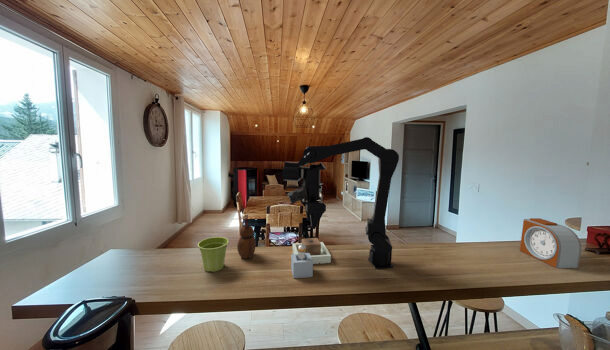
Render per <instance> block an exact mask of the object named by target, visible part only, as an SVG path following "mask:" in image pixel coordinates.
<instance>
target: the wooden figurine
mask: <svg viewBox="0 0 610 350" xmlns="http://www.w3.org/2000/svg"><path fill="white" fill-rule="evenodd" d="M253 234H254V228H253V226H252V225H248V218H247V217H245V225H243V226H241V227H240V230H239V235H240V237H239V239H238V242H237V246H236V247H237V253H238V255H239V256H240V257H241V258H242V259H250V258H251V257H253V256H254V253H255V252H256V251H255V250H256V245H257V242H256V237H255V236H254V235H253Z"/></svg>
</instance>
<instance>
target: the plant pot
mask: <svg viewBox="0 0 610 350" xmlns="http://www.w3.org/2000/svg"><path fill="white" fill-rule="evenodd" d="M229 243H230V242H229V239H228V238H227V237H223V236H214V237H207V238H205V239H202V240H200V241H199V242H198V243H197V247H198V248H199V251H200V253H201V259H202V264H203V265H202V266H203V269H204V271H206V272H214V273H216V272H218V271H220V270H222V269H223V268H224V266H225V258H226V251H227V247H228V244H229Z"/></svg>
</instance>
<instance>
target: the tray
mask: <svg viewBox="0 0 610 350" xmlns="http://www.w3.org/2000/svg"><path fill="white" fill-rule="evenodd" d="M319 242H320V244H321V255H312V256H311V258H312V260H313V265H319V263H320V264H330V263H332V262H331V261H332V255H331V253H330V251H329V250H328V249H327V246H326V245H325V244H324V241H319ZM300 244H302V242H300V243H299V242H296V243H292V249H291V250H292V254H298V247H299V245H300Z"/></svg>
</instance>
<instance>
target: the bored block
mask: <svg viewBox="0 0 610 350" xmlns="http://www.w3.org/2000/svg"><path fill="white" fill-rule="evenodd" d="M290 259H291V260H290V261H291V262H290V265H291V266H290V269H291V274H292V278H293V279H301V278H303V279H304V278H312V277H314V275H313V273H314V264H313V260H312V258H311V256H310V253H305V260H300V261H298V254H293V253H291V257H290Z"/></svg>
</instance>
